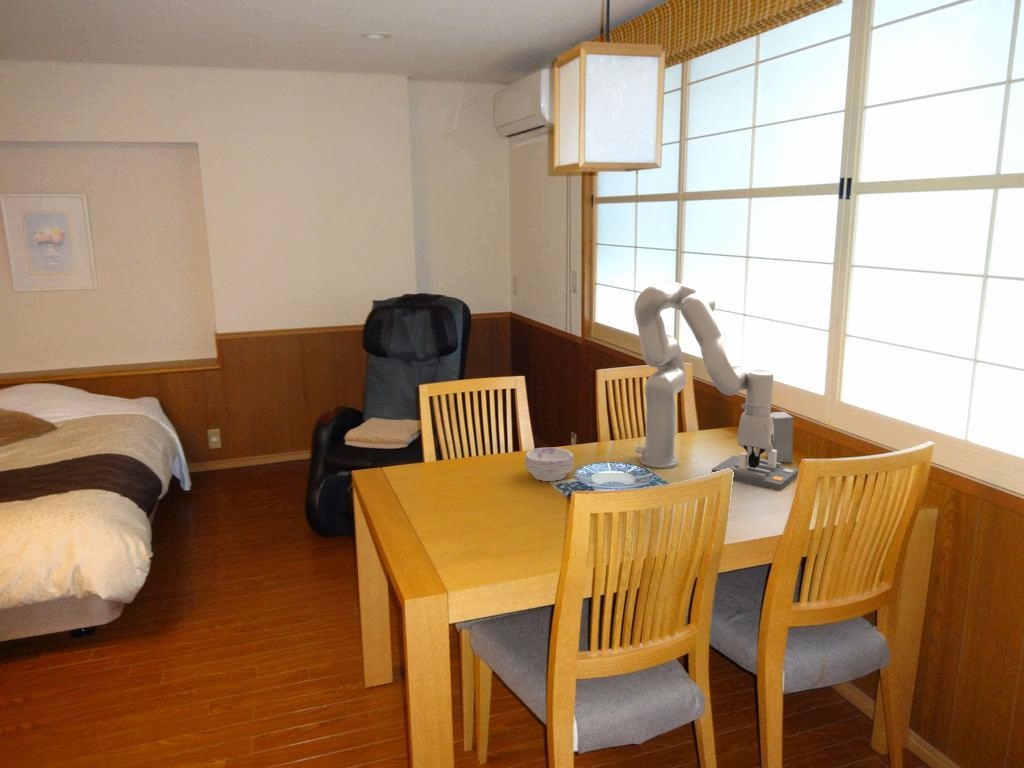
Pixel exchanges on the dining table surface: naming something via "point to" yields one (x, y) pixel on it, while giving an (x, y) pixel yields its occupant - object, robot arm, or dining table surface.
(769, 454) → the breaker handle
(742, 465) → the block
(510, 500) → the dining table surface
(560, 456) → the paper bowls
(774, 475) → the breaker panel
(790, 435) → the skincare box
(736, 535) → the dining table surface
